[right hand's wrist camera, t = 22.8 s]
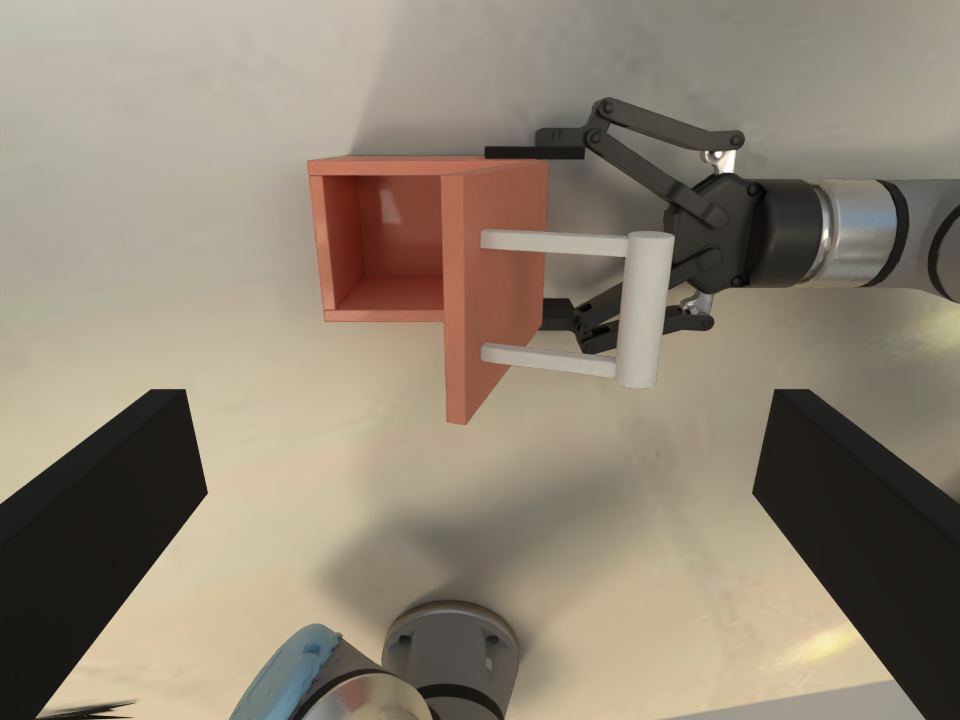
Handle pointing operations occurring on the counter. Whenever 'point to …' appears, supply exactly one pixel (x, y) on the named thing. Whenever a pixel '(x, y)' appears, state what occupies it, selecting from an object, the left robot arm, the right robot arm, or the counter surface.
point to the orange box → (532, 286)
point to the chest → (383, 233)
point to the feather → (84, 715)
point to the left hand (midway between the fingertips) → (484, 234)
